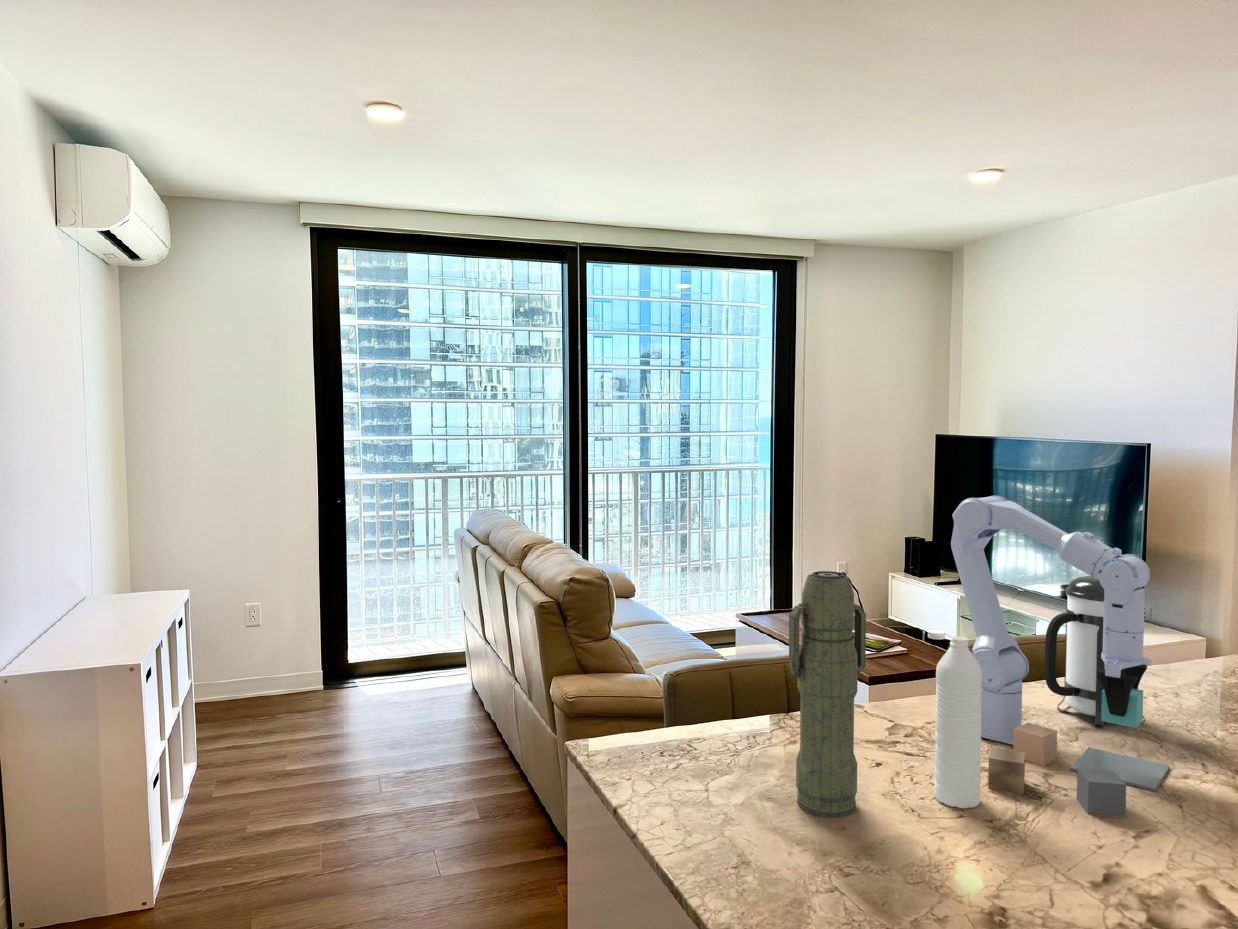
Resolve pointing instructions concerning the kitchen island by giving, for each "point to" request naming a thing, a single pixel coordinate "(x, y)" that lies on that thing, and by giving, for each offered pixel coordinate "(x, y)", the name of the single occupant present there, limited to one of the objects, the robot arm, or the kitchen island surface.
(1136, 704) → the teal block
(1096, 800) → the charcoal block
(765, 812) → the kitchen island surface
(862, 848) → the kitchen island surface
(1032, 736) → the terracotta block
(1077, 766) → the slate coaster
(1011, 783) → the walnut block
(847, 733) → the thermos
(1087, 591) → the coffee press
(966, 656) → the water bottle
